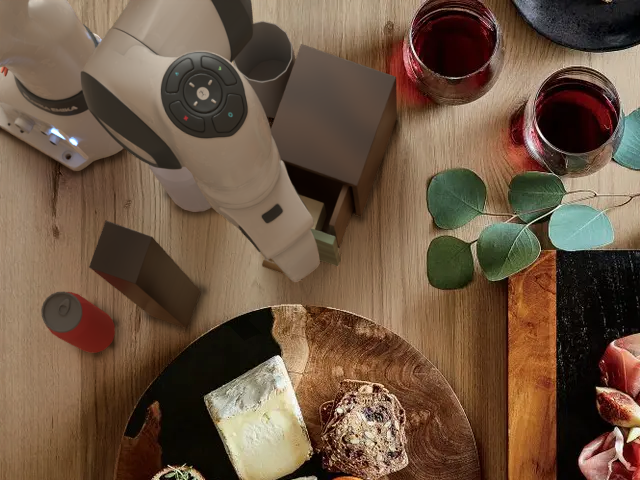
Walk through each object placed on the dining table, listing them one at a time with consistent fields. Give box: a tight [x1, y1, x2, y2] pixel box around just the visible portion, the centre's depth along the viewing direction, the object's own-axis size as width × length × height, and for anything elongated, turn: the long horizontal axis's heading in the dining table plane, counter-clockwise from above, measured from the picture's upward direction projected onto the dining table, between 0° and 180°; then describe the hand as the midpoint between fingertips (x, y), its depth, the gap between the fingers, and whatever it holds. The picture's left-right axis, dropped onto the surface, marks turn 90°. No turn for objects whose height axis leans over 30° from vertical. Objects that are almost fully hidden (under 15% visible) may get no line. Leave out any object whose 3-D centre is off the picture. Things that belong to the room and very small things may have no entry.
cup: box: [232, 20, 296, 119], centre depth 117 cm, size 8×8×10 cm
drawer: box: [261, 163, 355, 281], centre depth 116 cm, size 19×12×10 cm, turn 160°
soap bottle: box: [148, 164, 213, 213], centre depth 110 cm, size 9×9×25 cm
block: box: [299, 195, 327, 232], centre depth 118 cm, size 4×4×4 cm
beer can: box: [40, 291, 116, 354], centre depth 116 cm, size 7×7×12 cm
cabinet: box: [270, 43, 398, 218], centre depth 116 cm, size 16×14×12 cm
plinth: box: [88, 220, 202, 330], centre depth 110 cm, size 6×6×24 cm
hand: (263, 221), depth 98 cm, fingers open, 8 cm apart
